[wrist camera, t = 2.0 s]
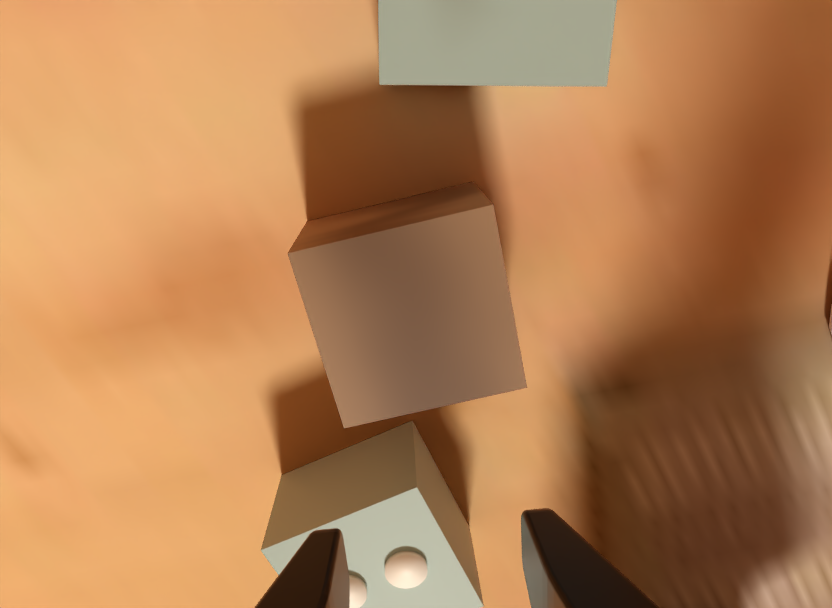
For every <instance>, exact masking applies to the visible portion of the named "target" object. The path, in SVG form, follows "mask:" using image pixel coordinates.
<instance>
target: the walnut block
mask: <svg viewBox="0 0 832 608" xmlns="http://www.w3.org/2000/svg"><path fill="white" fill-rule="evenodd" d="M288 256H289V259H290V262H291V265H292V268H293V272H294V275H295V278H296V281H297V284H298V287H299V290H300V293H301V296H302V300H303V303H304V306H305V309H306V312H307V315H308V318H309V321H310V324H311V327H312V331H313V334H314V337H315V340H316V343H317V346H318V349H319V352H320V355H321V358H322V362H323V365H324V368H325V371H326V374H327V377H328V380H329V383H330V386H331V390H332V393H333V396H334V399H335V402H336V405H337V408H338V411H339V414H340V417H341V421H342V424H343V427H344V428H348V427H353V426H357V425H362V424H366V423H371V422H375V421H380V420H384V419H389V418H393V417H398V416H402V415H407V414H411V413H416V412H420V411H425V410H429V409H434V408H438V407H443V406H447V405H452V404H456V403H460V402H465V401H469V400H474V399H478V398H483V397H487V396H492V395H496V394H501V393H505V392H510V391H514V390H519V389H523V388H527V385H526V379H525V374H524V368H523V363H522V357H521V352H520V347H519V341H518V336H517V330H516V325H515V319H514V314H513V308H512V303H511V297H510V292H509V286H508V281H507V276H506V270H505V265H504V259H503V254H502V248H501V243H500V237H499V232H498V226H497V221H496V216H495V210H494V205H493V203H492V202H491V201H490V200H489V199H488V198H487V197H486V195H485V194H484V193H483V192H482V191H481V190H480V189H479V187H478V186H477V185H476V184H475V183H474V182H469V183H465V184H461V185H457V186H453V187H449V188H444V189H440V190H436V191H432V192H428V193H423V194H419V195H415V196H411V197H407V198H402V199H398V200H394V201H390V202H386V203H381V204H377V205H373V206H369V207H365V208H361V209H356V210H352V211H348V212H344V213H340V214H335V215H331V216H327V217H323V218H319V219H314V220H310V221H307V222H306V224H305V226H304V227H303V229H302V231H301V232H300V234H299V236H298V237H297V239H296V240H295V242H294V244H293V245H292V247H291V249H290V250H289V252H288Z"/></svg>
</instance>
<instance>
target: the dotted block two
mask: <svg viewBox="0 0 832 608" xmlns="http://www.w3.org/2000/svg"><path fill="white" fill-rule="evenodd" d="M333 528H338V529H340V530H341V532H342V534H343V539H344V545H345V552H346V558H347V564H348V571H349V580H350V603H349V608H480V607H483V606H484V605H483V600H482V594H481V589H480V583H479V578H478V572H477V567H476V561H475V555H474V550H473V544H472V539H471V533H470V528H469V525H468V523H467V521H466V519H465V518H464V516H463V514H462V512H461V510H460V508H459V506H458V505H457V503H456V501H455V499H454V497H453V495H452V493H451V491H450V490H449V488H448V486H447V484H446V482H445V480H444V478H443V477H442V475H441V473H440V471H439V469H438V467H437V465H436V463H435V462H434V460H433V458H432V456H431V454H430V452H429V450H428V448H427V447H426V445H425V443H424V441H423V439H422V437H421V435H420V434H419V432H418V430H417V428H416V426H415V424H414V422H413V420H412V421H410V422H408V423H405V424H403V425H400V426H398V427H396V428H393V429H391V430H388V431H386V432H384V433H381V434H379V435H376V436H374V437H372V438H369V439H367V440H364V441H362V442H360V443H357V444H355V445H352V446H350V447H348V448H345V449H343V450H340V451H338V452H336V453H333V454H331V455H328V456H326V457H324V458H321V459H319V460H317V461H314V462H312V463H309V464H307V465H305V466H302V467H300V468H297V469H295V470H293V471H290V472H288V473H285V474H283V475H282V476H281V479H280V483H279V487H278V490H277V494H276V497H275V501H274V505H273V508H272V512H271V515H270V519H269V523H268V526H267V530H266V533H265V537H264V541H263V544H262V548H261V551H262V553H263V554H264V555H265V557H266V558H267V560H268V561H269V562H270V564H271V565H272V567H273V568H274V569H275V571H276V572H277V574H278V575H279V574H280V573H281V572H282V570H283V569H284V568H285V566H286V565H287V564H288V562H289V561H290V560H291V558H292V557H293V556H294V554H295V553H296V552H297V550H298V549H299V548H300V546H301V545H302V544H303V542H304V541H305V540H306V538H307V537H308V536H309V534H310V533H312V532H313V531H315V530H322V529H333Z"/></svg>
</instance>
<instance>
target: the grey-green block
mask: <svg viewBox="0 0 832 608" xmlns="http://www.w3.org/2000/svg"><path fill="white" fill-rule="evenodd" d="M616 3H617V0H378V28H379V85H450V86H607V81H608V72H609V64H610V55H611V46H612V38H613V29H614V20H615V12H616Z"/></svg>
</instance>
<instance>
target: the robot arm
mask: <svg viewBox="0 0 832 608" xmlns="http://www.w3.org/2000/svg"><path fill="white" fill-rule="evenodd" d="M521 536H522V562H523V569H524V575H525V579H526V584H527V589H528V594H529V599H530V603H531V608H659V607H658V606H657V605H656V604H655V603H654V602H653V601H652V600H650V599H649V598H648V597H647V596H646V595H645V594H644V593H643V592H642V591H641V590H639V589H638V588H637V587H636V586H635V585H634V584H633V583H632V582H631V581H630V580H629V579H627V578H626V577H625V576H624V575H623V574H622V573H621V572H620V571H619V570H618V569H616V568H615V567H614V566H613V565H612V564H611V563H610V562H609V561H608V560H607V559H606V558H604V557H603V556H602V555H601V554H600V553H599V552H598V551H597V550H596V549H595V548H593V547H592V546H591V545H590V544H589V543H588V542H587V541H586V540H585V539H584V538H583V537H581V536H580V535H579V534H578V533H577V532H576V531H575V530H574V529H573V528H572V527H570V526H569V525H568V524H567V523H566V522H565V521H564V520H563V519H562V518H561V517H559V516H558V515H557V514H556V513H555V512H554V511H553V510H551V509H548V508H543V509H533V510H525V511H524V512H523V513H522V516H521ZM349 603H350V580H349V571H348V564H347V558H346V552H345V545H344V539H343V534H342V532H341V530H340V529H338V528H333V529H322V530H315V531H313V532H312V533H310V534H309V536H308V537H307V538H306V540H305V541H304V542H303V544H302V545H301V546H300V548H299V549H298V550H297V552H296V553H295V554H294V556H293V557H292V558H291V560H290V561H289V562H288V564H287V565H286V566H285V568H284V569H283V570H282V572H281V573H280V574H279V576H278V577H277V578H276V580H275V581H274V582H273V584H272V585H271V586H270V588H269V589H268V590H267V592H266V593H265V594H264V596H263V597H262V598H261V600H260V601H259V602H258V604H257V605H256V606H255V608H349Z"/></svg>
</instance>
